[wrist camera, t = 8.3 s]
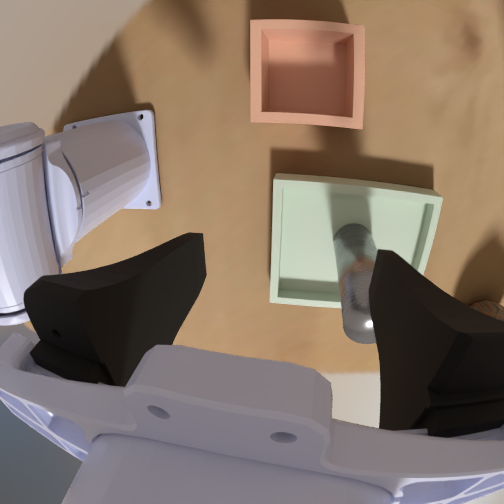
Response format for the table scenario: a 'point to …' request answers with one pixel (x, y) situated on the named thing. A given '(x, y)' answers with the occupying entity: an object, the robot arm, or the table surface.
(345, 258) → the dowel
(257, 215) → the table surface
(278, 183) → the tray
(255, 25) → the salmon open box
